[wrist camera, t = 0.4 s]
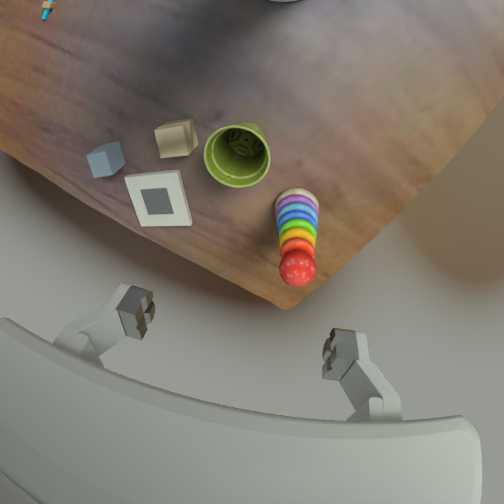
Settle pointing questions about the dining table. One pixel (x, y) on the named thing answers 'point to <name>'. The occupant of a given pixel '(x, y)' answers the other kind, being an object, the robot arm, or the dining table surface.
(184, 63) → the dining table surface
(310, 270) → the stacking toy
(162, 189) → the plate
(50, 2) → the gear mechanism
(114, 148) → the slate blue block
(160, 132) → the maple block
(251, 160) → the plant pot
